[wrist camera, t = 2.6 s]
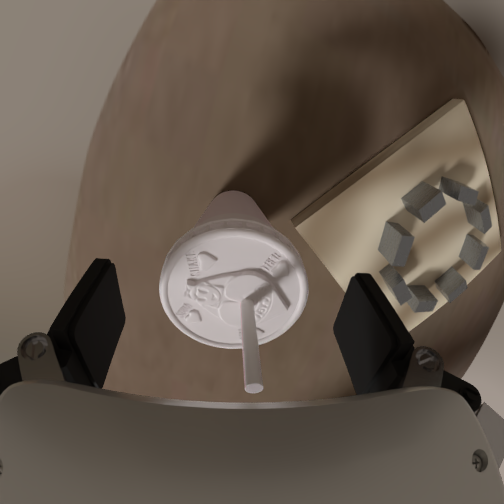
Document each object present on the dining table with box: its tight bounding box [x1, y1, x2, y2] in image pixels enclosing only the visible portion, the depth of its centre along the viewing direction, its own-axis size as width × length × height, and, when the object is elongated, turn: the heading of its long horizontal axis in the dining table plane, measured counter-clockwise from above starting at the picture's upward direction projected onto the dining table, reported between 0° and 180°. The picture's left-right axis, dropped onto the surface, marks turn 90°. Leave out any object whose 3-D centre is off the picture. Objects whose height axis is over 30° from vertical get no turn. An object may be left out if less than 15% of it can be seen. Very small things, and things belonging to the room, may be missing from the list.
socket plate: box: [291, 99, 501, 332], centre depth 21 cm, size 18×18×2 cm
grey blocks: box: [378, 176, 492, 313], centre depth 19 cm, size 11×11×2 cm
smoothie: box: [159, 191, 308, 393], centre depth 14 cm, size 6×6×14 cm
